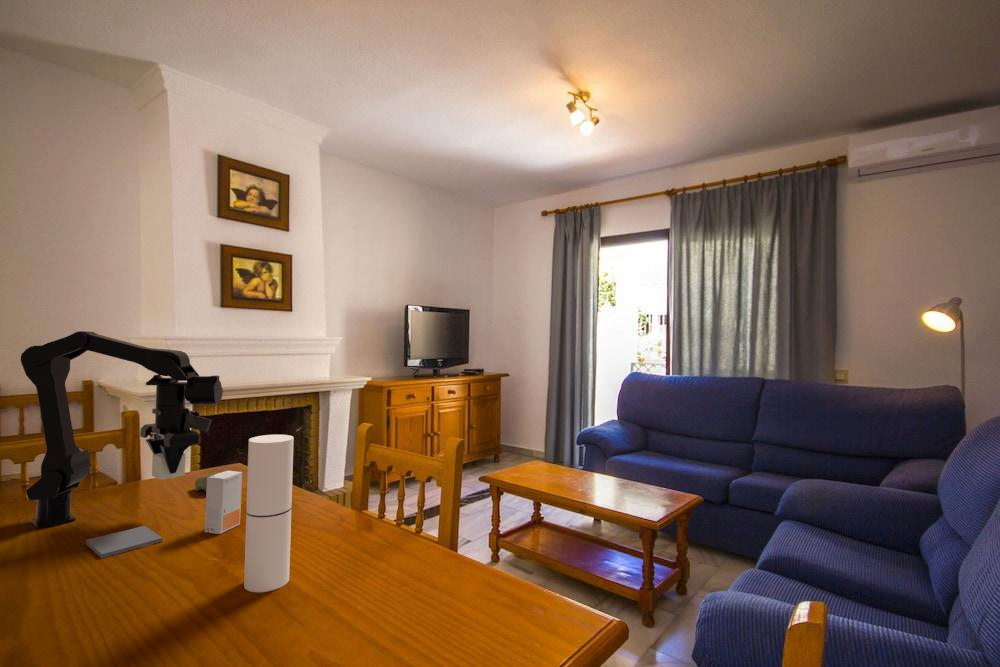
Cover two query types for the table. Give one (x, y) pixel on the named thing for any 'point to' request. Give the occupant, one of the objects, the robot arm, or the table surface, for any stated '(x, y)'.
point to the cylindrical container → (268, 512)
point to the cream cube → (161, 467)
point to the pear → (202, 482)
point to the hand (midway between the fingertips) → (168, 471)
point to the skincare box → (223, 501)
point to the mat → (123, 541)
